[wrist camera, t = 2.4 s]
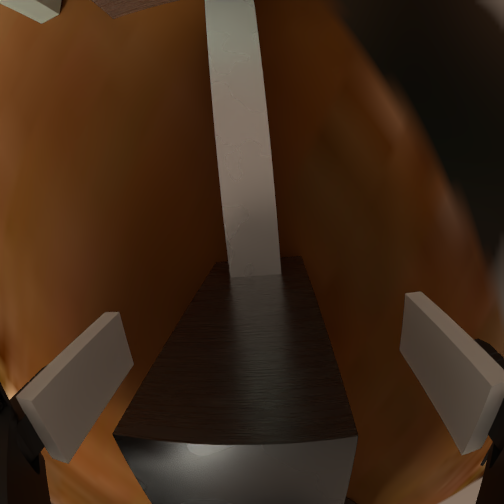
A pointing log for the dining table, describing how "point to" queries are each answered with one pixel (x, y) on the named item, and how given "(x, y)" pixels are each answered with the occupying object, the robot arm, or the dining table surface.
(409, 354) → the robot arm
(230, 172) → the scraper
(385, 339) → the dining table surface
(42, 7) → the cabinet
